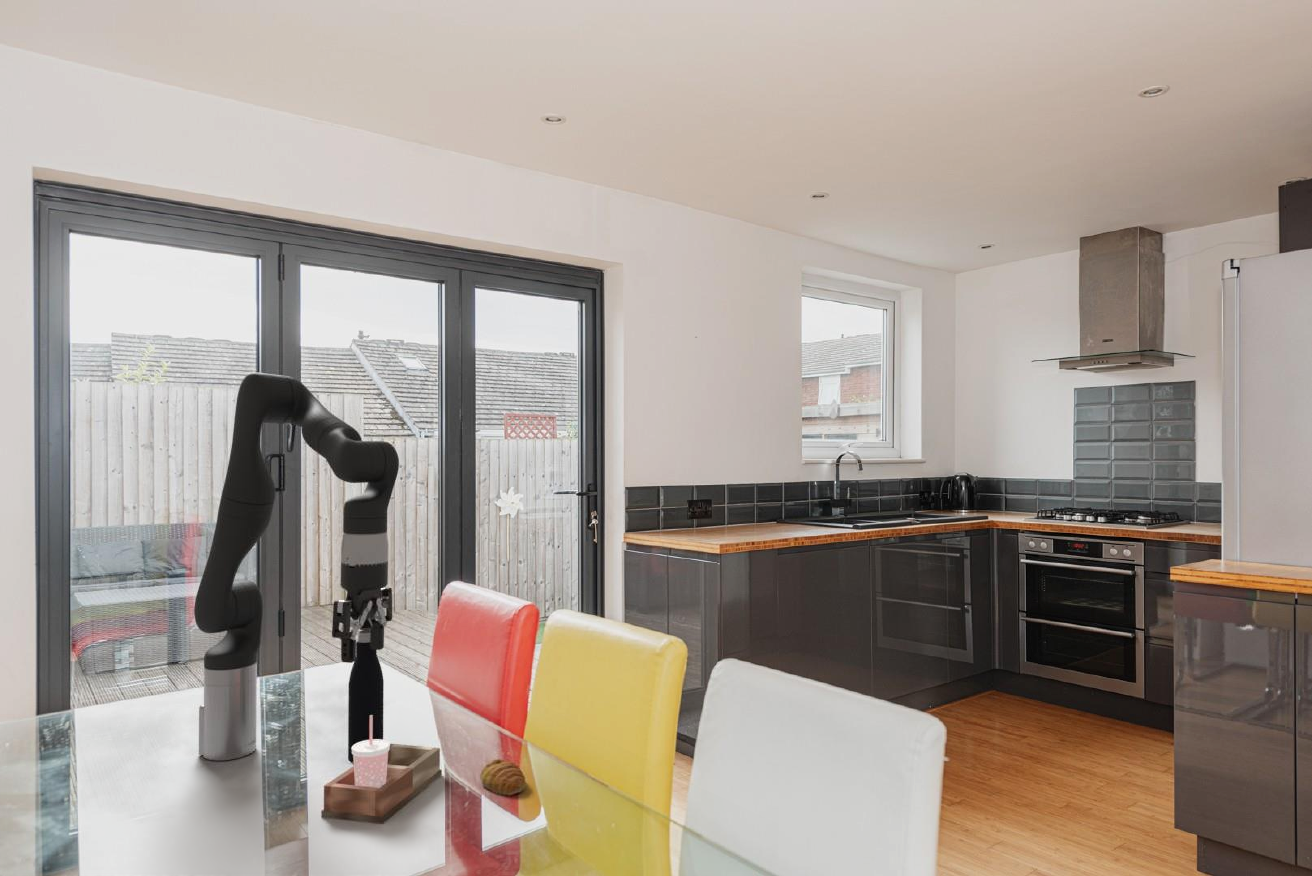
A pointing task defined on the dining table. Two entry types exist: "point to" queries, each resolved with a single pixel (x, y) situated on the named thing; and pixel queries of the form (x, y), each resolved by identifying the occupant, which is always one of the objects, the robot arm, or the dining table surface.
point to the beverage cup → (370, 761)
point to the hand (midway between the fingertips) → (363, 655)
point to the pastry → (503, 777)
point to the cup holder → (403, 783)
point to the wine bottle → (365, 692)
